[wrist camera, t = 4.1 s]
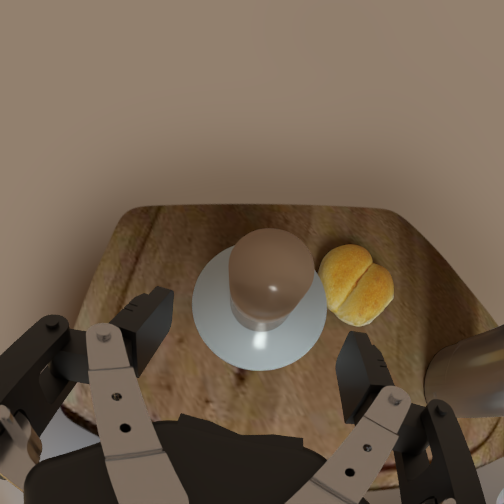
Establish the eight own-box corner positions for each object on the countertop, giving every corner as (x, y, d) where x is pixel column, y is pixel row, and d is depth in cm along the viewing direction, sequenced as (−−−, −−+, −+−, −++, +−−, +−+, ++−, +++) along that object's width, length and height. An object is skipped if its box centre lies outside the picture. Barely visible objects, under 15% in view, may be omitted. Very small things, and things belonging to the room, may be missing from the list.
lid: (275, 234, 23) (292, 167, 16) (341, 326, 20) (394, 293, 13) (175, 288, 20) (145, 235, 13) (238, 395, 17) (240, 405, 10)
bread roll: (344, 239, 33) (356, 222, 29) (395, 292, 30) (412, 279, 27) (297, 281, 30) (306, 267, 26) (353, 341, 27) (370, 334, 24)
